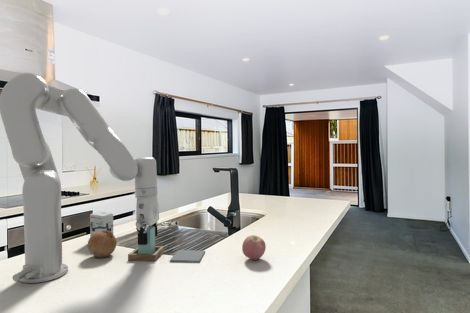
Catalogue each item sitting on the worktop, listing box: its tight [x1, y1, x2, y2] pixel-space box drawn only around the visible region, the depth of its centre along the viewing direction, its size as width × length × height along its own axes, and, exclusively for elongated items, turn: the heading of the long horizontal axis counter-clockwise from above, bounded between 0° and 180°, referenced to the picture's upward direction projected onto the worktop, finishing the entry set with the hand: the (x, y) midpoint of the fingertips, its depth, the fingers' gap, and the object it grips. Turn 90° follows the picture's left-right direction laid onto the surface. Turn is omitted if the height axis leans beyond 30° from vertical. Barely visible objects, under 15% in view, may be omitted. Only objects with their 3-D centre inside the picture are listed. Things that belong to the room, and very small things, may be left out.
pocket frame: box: [127, 245, 165, 262], centre depth 107 cm, size 10×10×2 cm
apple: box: [241, 234, 267, 261], centre depth 103 cm, size 8×8×8 cm
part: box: [137, 226, 156, 254], centre depth 107 cm, size 4×4×10 cm
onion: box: [87, 230, 117, 259], centre depth 108 cm, size 10×9×10 cm
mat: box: [169, 249, 206, 263], centre depth 106 cm, size 10×10×1 cm
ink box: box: [89, 211, 114, 238], centre depth 124 cm, size 9×5×12 cm, turn 62°
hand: (148, 240), depth 107 cm, fingers open, 9 cm apart
